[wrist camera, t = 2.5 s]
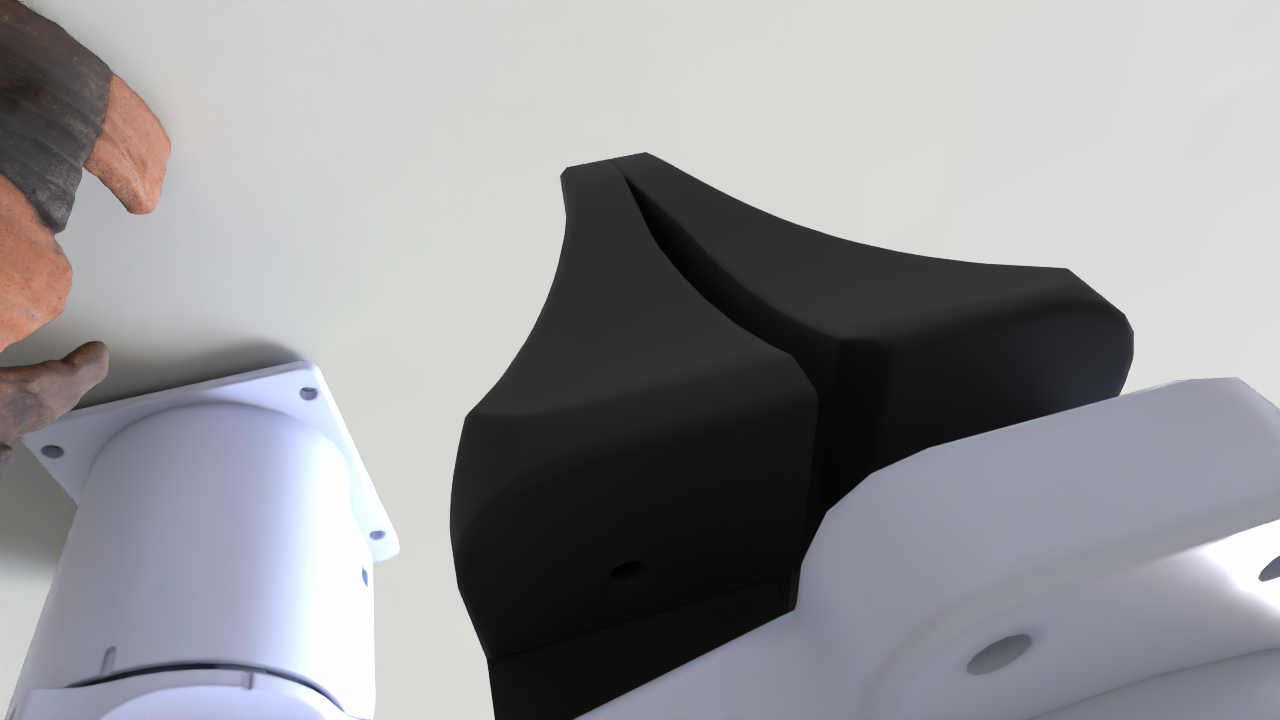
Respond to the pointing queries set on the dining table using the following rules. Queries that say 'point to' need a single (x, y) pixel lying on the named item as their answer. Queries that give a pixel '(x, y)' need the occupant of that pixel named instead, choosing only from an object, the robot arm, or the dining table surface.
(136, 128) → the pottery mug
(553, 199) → the dining table surface
